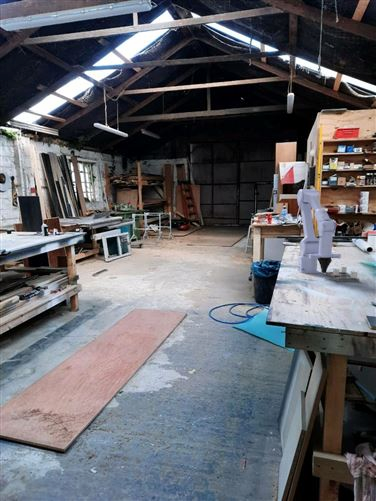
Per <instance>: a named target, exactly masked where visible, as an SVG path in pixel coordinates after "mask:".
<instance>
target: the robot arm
mask: <svg viewBox="0 0 376 501" xmlns="http://www.w3.org/2000/svg"><path fill="white" fill-rule="evenodd" d="M296 198H297V199H296V201H297V206H298V207H299V208H300V214H301V219H302V229H303V236H304V238H303V239H301V240H300V242H299V244H300V245H299V251H300V253H301V255H298V258H297V269H296V270H297V271H298V272H300V273H301V274H320V273H322V274H326V272H328V268H329V267H330V264H331V263H332V261H333V260H332V259H339V260H340V259H341V257H342V255H341V254H340V253H332V248H333V235H334V232H335V231H336V228H337V223H336V222H335V220H334V219H332V218H330V216H329V214H328V212H327V210H326V208H325V209H324V208H323V206H322V204H321V202H320V192H319V189H317V188H315V189H311V188H310V189H302V188H301V189H299V190H298V192H297V195H296ZM311 209H313V210H314V218H315V220H316V221H317V232H318V236H319V237H316V235H315V230H314V221H313V216H312V210H311ZM318 263H319V266H320V269H321V270H320V271H321V272H320V271H319V270H318Z"/></svg>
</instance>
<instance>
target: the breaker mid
mask: <svg viewBox="0 0 376 501" xmlns="http://www.w3.org/2000/svg"><path fill="white" fill-rule="evenodd" d="M332 272H333V274H334V275H339V272H340V268H338V267H337V268H335V267H334V268H333V269H332Z"/></svg>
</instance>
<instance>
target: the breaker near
mask: <svg viewBox="0 0 376 501" xmlns="http://www.w3.org/2000/svg"><path fill="white" fill-rule="evenodd" d="M350 277H352V278H358V271H356V270H351V271H350Z"/></svg>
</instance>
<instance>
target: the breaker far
mask: <svg viewBox="0 0 376 501" xmlns="http://www.w3.org/2000/svg"><path fill="white" fill-rule="evenodd" d="M347 268H348V267H347V266H346V265H340V269H339V272H347Z"/></svg>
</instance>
